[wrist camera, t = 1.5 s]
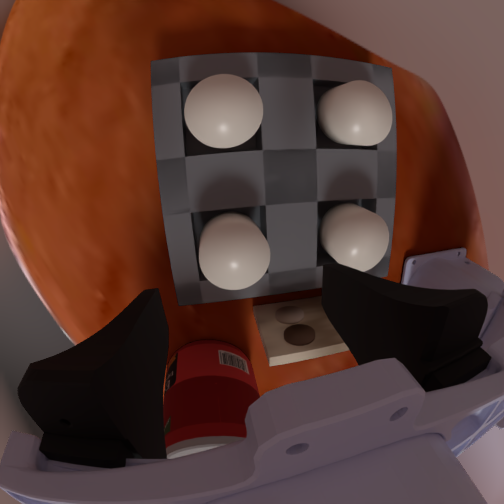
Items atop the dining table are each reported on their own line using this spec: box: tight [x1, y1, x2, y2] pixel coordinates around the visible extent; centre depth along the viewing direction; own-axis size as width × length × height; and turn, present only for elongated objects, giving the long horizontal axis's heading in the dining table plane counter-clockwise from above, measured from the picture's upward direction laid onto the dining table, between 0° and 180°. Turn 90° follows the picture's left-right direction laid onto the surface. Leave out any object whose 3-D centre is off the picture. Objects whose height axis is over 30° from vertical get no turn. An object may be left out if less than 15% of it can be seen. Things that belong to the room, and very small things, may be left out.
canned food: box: [163, 340, 260, 459], centre depth 20 cm, size 8×8×11 cm
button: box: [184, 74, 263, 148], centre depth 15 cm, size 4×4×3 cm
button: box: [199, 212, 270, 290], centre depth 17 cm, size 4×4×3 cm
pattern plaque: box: [253, 296, 349, 366], centre depth 21 cm, size 9×1×6 cm, turn 93°
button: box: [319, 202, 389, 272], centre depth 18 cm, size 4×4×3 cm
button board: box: [151, 53, 396, 306], centre depth 19 cm, size 16×16×3 cm
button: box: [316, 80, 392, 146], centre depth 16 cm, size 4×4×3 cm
